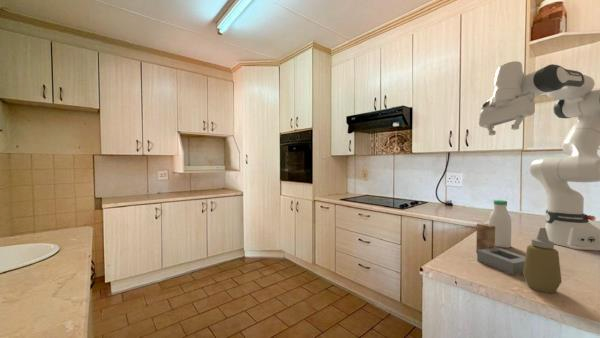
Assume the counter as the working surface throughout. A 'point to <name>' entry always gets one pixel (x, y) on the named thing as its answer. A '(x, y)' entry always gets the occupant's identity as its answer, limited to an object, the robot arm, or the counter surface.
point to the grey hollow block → (502, 260)
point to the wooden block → (485, 236)
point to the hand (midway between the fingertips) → (502, 132)
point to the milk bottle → (501, 224)
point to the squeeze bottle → (542, 264)
